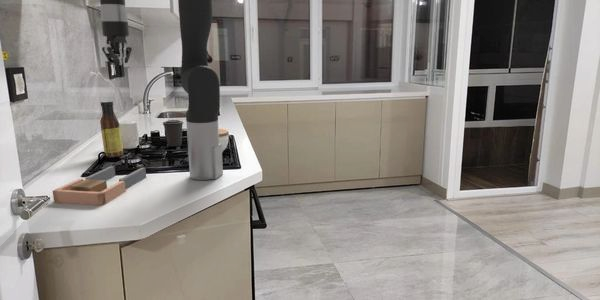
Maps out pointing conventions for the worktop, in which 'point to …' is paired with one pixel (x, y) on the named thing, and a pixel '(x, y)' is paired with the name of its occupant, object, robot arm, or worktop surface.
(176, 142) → the coffee cup
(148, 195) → the worktop surface
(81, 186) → the walnut block
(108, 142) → the sauce bottle
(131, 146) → the white cup
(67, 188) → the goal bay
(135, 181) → the tunnel
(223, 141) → the lidded jar
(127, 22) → the robot arm
